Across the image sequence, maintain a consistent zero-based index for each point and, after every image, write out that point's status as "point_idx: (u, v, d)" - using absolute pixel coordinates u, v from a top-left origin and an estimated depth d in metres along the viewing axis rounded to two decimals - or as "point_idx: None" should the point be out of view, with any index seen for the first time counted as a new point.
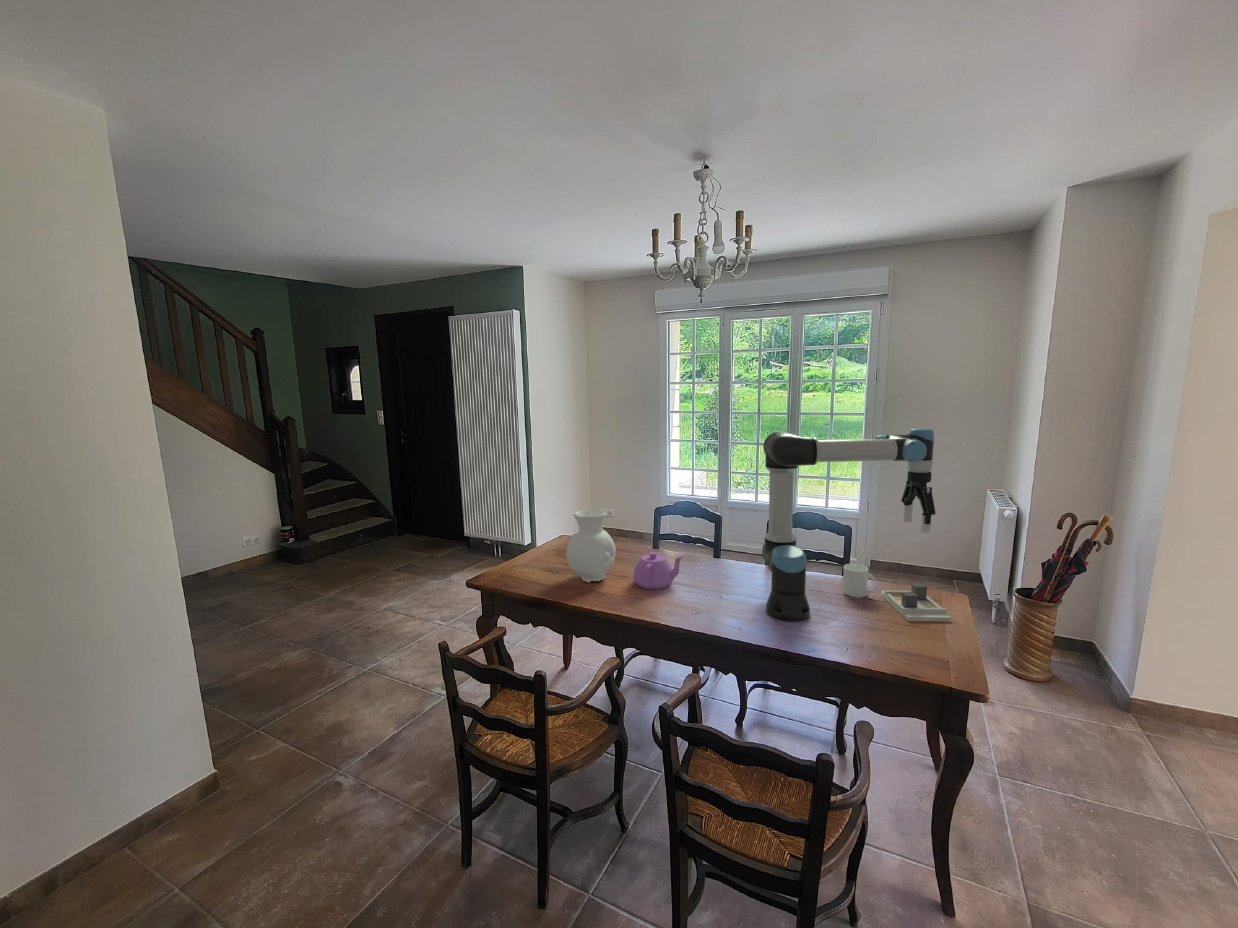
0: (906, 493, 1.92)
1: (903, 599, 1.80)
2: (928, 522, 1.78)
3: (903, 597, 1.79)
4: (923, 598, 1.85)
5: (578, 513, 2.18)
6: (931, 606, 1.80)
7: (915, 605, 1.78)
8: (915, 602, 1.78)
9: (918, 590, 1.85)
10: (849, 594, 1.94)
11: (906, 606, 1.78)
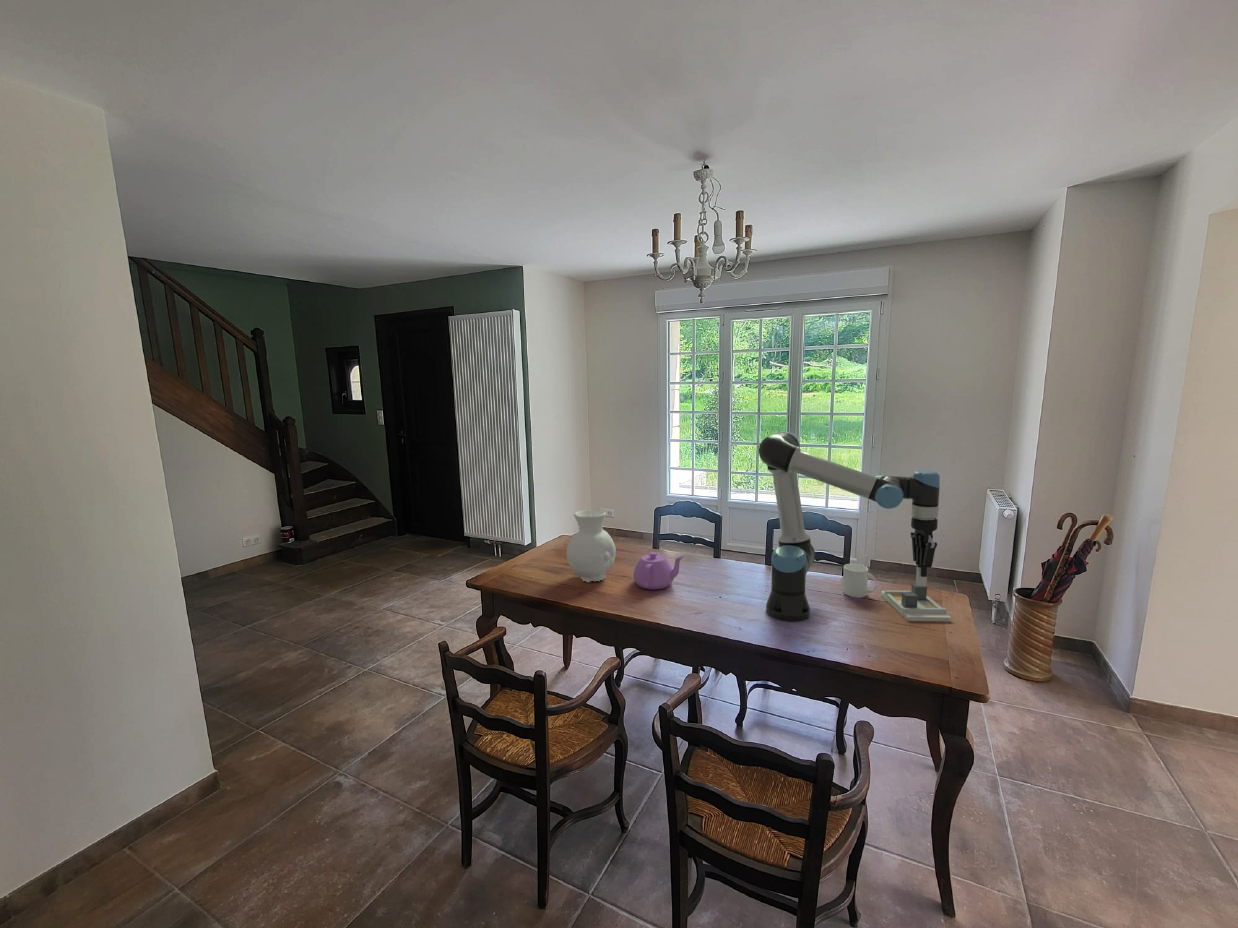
0: (915, 547, 1.73)
1: (903, 599, 1.80)
2: (924, 575, 1.69)
3: (903, 597, 1.79)
4: (923, 598, 1.85)
5: (578, 513, 2.18)
6: (931, 606, 1.80)
7: (915, 605, 1.78)
8: (915, 602, 1.78)
9: (918, 590, 1.85)
10: (849, 594, 1.94)
11: (906, 606, 1.78)
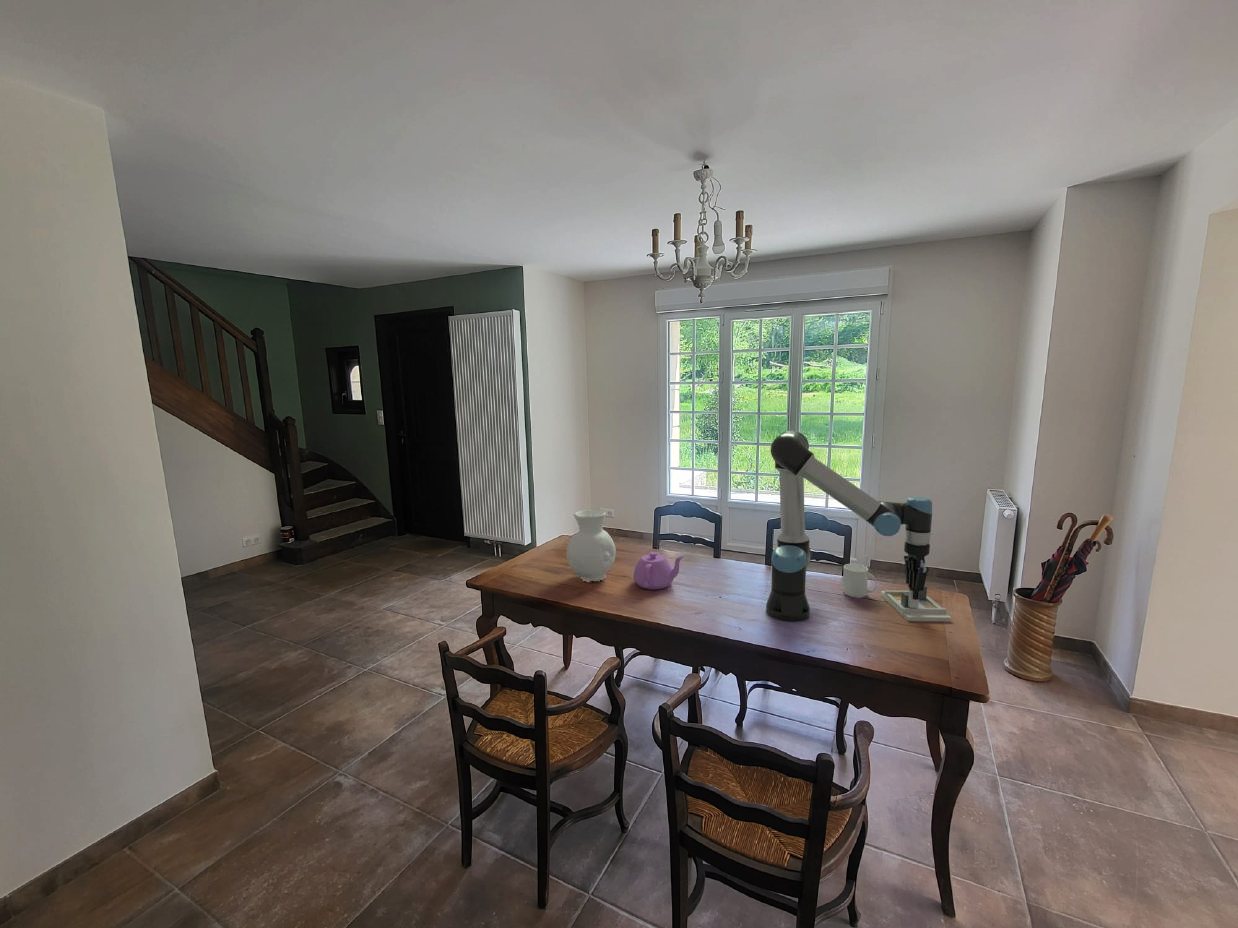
0: (908, 570, 1.78)
1: (902, 598, 1.80)
2: (916, 598, 1.74)
3: (903, 597, 1.80)
4: (923, 598, 1.85)
5: (578, 513, 2.18)
6: (931, 606, 1.80)
7: None
8: None
9: None
10: (849, 594, 1.94)
11: (906, 606, 1.78)
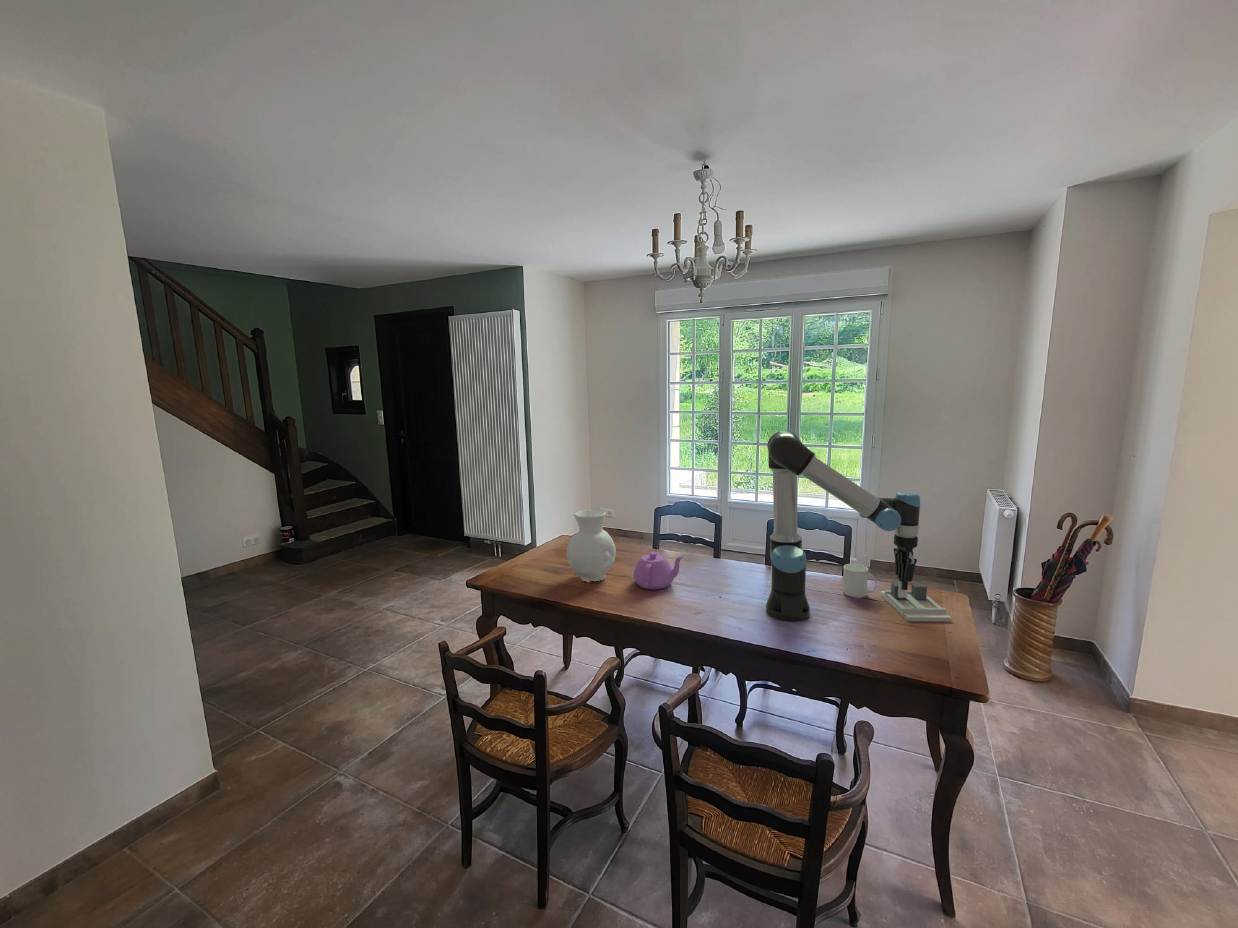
0: (897, 562, 1.86)
1: (892, 589, 1.88)
2: (905, 588, 1.82)
3: (892, 587, 1.88)
4: (923, 598, 1.85)
5: (578, 513, 2.18)
6: (931, 606, 1.80)
7: None
8: None
9: (918, 590, 1.85)
10: (849, 594, 1.94)
11: (895, 596, 1.86)
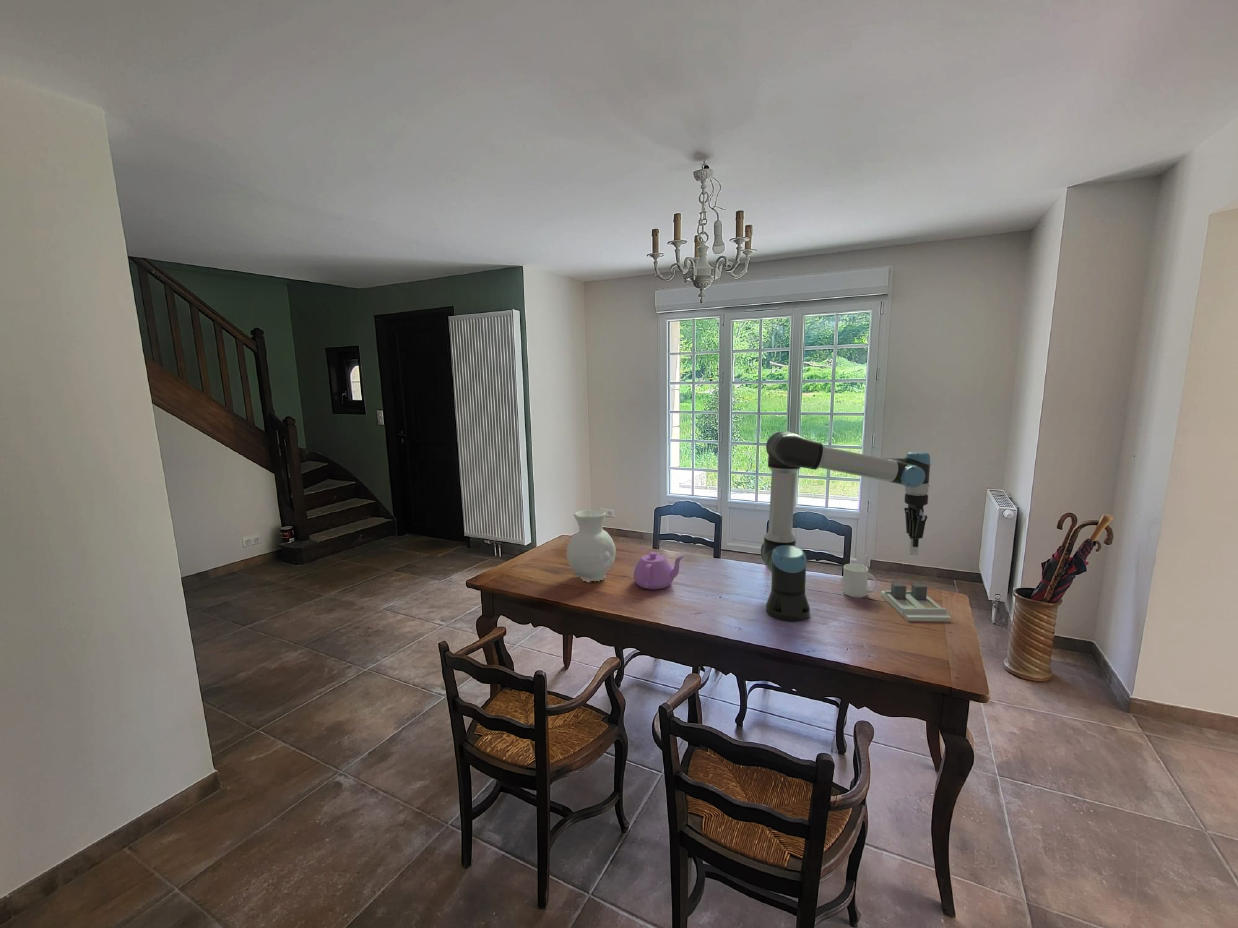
0: (908, 521, 1.92)
1: (892, 589, 1.88)
2: (916, 545, 1.88)
3: (892, 587, 1.88)
4: (923, 598, 1.85)
5: (578, 513, 2.19)
6: (931, 606, 1.80)
7: (904, 595, 1.86)
8: (904, 592, 1.86)
9: (918, 590, 1.85)
10: (849, 594, 1.94)
11: (895, 596, 1.86)
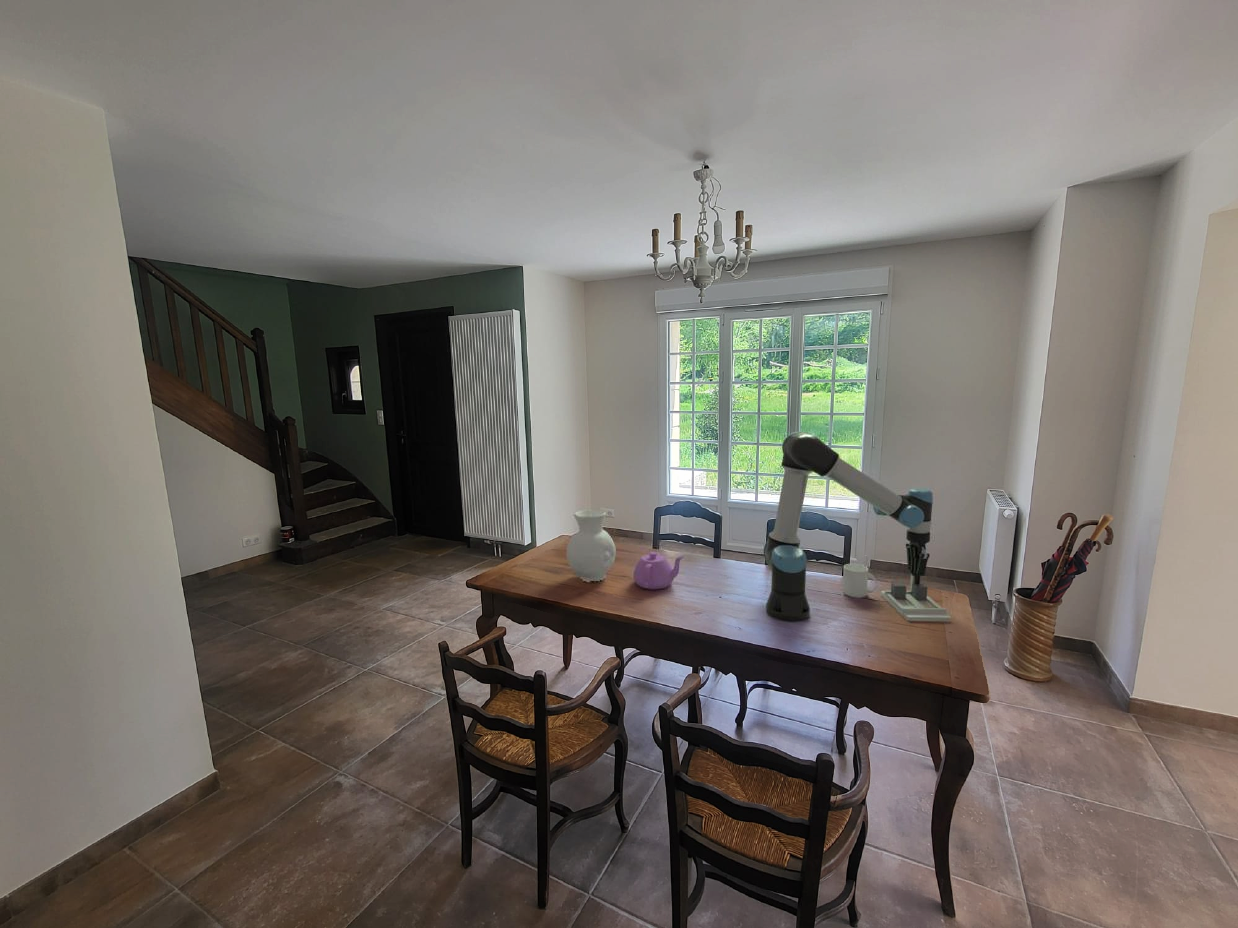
0: (909, 557, 1.91)
1: (892, 589, 1.88)
2: (917, 582, 1.87)
3: (892, 587, 1.88)
4: (923, 598, 1.85)
5: (578, 513, 2.18)
6: (931, 606, 1.80)
7: (904, 595, 1.86)
8: (904, 592, 1.86)
9: (918, 590, 1.85)
10: (849, 594, 1.94)
11: (895, 596, 1.86)
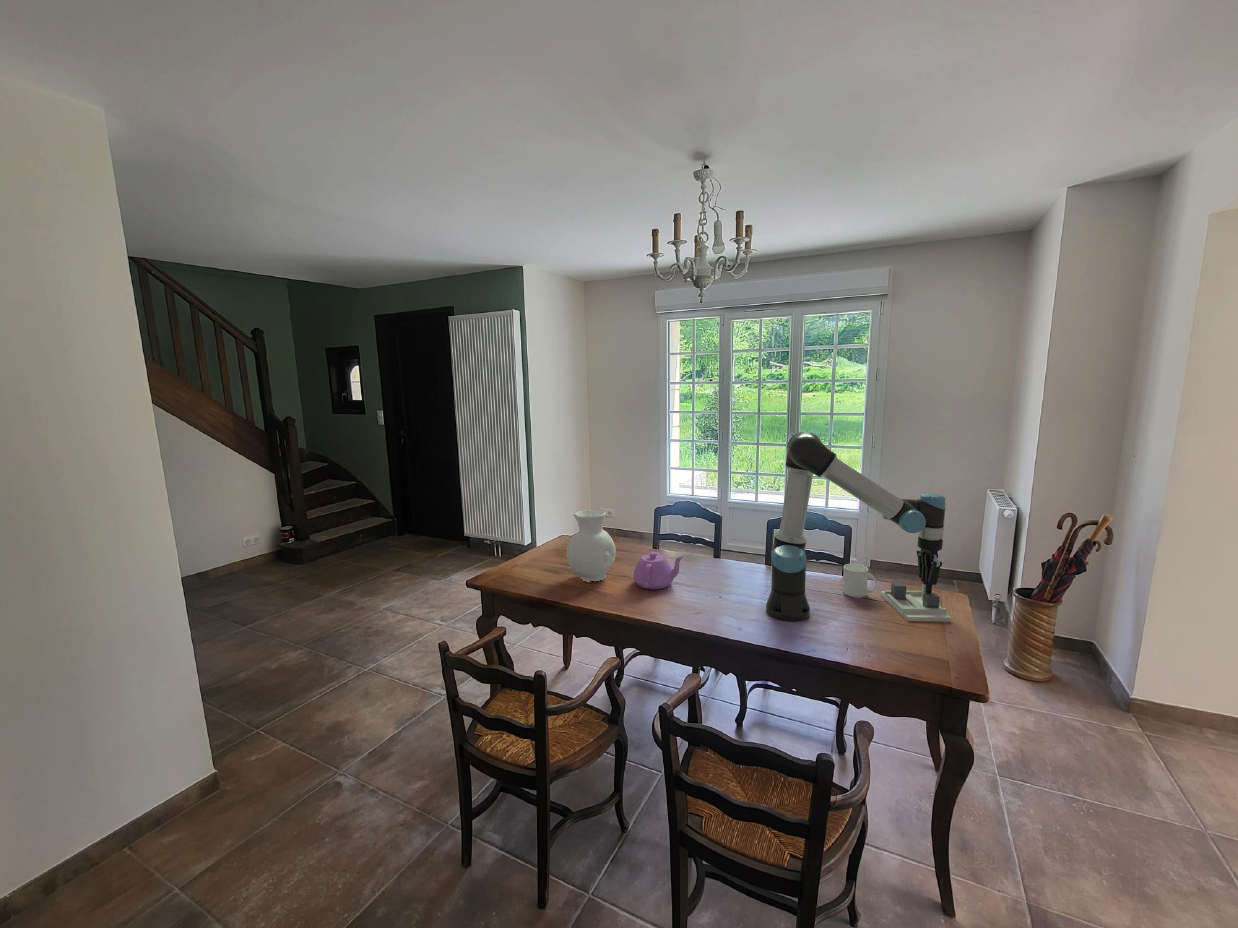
0: (921, 565, 1.83)
1: (892, 589, 1.88)
2: (929, 591, 1.79)
3: (892, 587, 1.88)
4: None
5: (578, 513, 2.18)
6: None
7: (904, 595, 1.86)
8: (904, 592, 1.86)
9: (930, 600, 1.76)
10: (849, 594, 1.94)
11: (895, 596, 1.86)
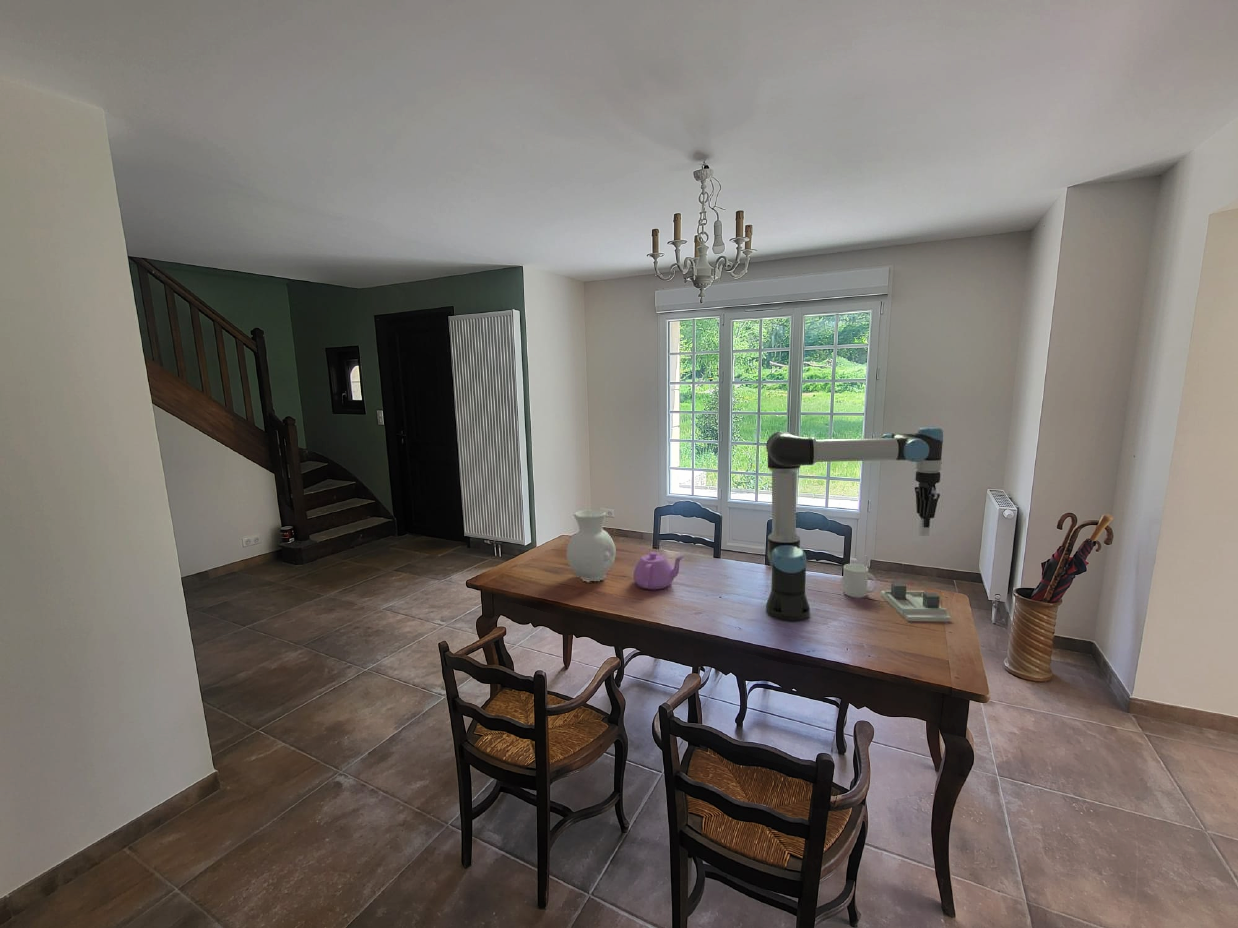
0: (919, 501, 1.84)
1: (892, 589, 1.88)
2: (927, 525, 1.79)
3: (892, 587, 1.88)
4: None
5: (578, 513, 2.19)
6: None
7: (904, 595, 1.86)
8: (904, 592, 1.86)
9: (930, 600, 1.76)
10: (849, 594, 1.94)
11: (895, 596, 1.86)
